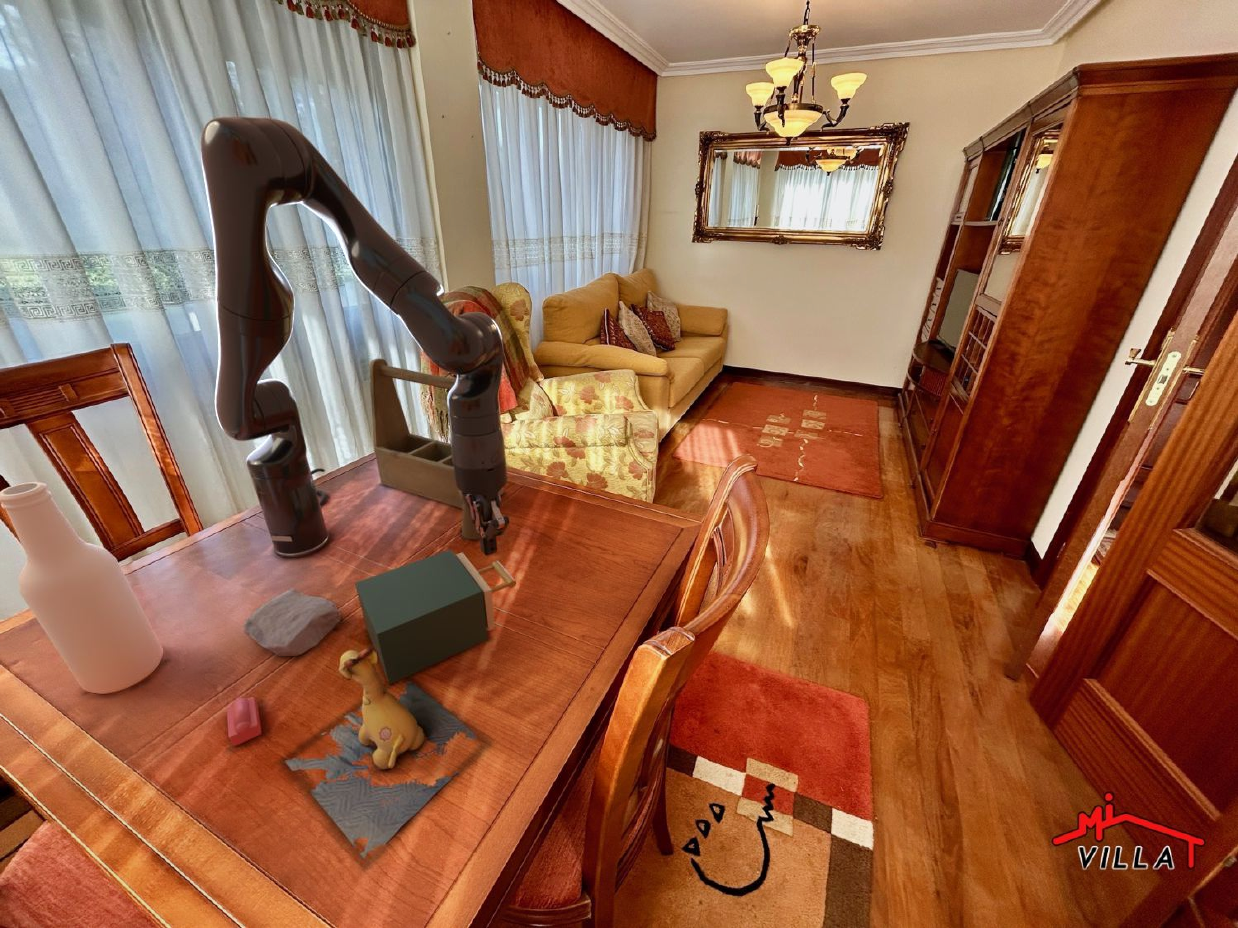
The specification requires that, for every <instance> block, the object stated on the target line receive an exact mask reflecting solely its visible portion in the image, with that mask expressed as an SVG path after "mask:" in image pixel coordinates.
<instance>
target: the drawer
mask: <svg viewBox="0 0 1238 928" xmlns="http://www.w3.org/2000/svg"><path fill="white" fill-rule="evenodd" d="M455 556H456V557H457V559H458V560H459V561H460V563H461V564H462V565H463V567H464V568H465V569H466V571H467V572H468V573H469V575H470V576H471V577H472V579H473V580H474V581H475V583H476V584H477V585H478V587H479V588H480V589H481V591H482V596H483V605H484V613H485V622H486V630H487V631H488V632H490V631H492V630H494V629H496V619H495V612H494V611H495V610H494V602H493V601H494V600H493V594H494V593H496V592H497V593H498V592H499V591H502V590H504V589H506V588H509V589H512V588H513V589H514V588H515V587H516V586H517V581H516V580H515V578H513V576H512V575H511V574H510V572H509V571H508V570H507V569H506V568H505V567H504V565H503V564H502V563H501V562H500V561H499V560H494V561H493V562H492V563H491V565H488V566H486V567H483V568H480V569H478V570H477V569H476V568H475V566H474V565H473V564H472V563H471V562H470V560H469V559H468V557H467V556H466V555H465V554H464V552H463V551H462V552H459V553H456V554H455ZM493 570H494V571H495V572H496V573H497V574H498V576H499V577H500V578H501V579H502V581H503V583H501V584H498V585H496V586H493V587H490V586H489V585H488V584H487V581H485V579H484V578H483V576H482V575H483V574H485V573H488V572H491V571H493Z"/></svg>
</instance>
